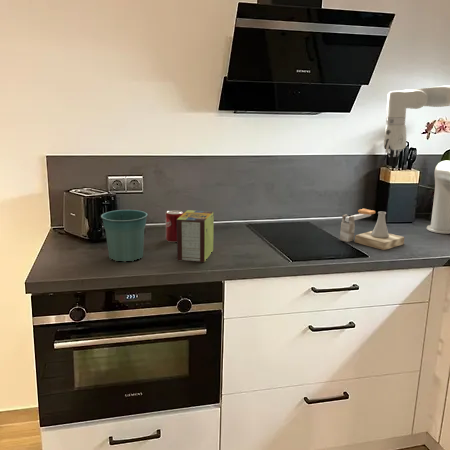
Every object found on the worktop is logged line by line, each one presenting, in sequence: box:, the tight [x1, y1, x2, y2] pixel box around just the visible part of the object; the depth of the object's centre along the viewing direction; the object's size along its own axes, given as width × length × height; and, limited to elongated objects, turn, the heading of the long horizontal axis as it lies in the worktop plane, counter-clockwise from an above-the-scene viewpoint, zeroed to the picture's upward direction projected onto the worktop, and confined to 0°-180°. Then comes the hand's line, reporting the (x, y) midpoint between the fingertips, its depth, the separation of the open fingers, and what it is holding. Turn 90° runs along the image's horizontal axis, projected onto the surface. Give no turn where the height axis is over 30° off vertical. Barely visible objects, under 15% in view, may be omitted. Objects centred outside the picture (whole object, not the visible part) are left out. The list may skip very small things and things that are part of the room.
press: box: [339, 214, 405, 251], centre depth 215 cm, size 16×20×10 cm
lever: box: [345, 208, 376, 222], centre depth 220 cm, size 15×6×3 cm, turn 130°
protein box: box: [176, 209, 215, 263], centre depth 193 cm, size 10×15×16 cm
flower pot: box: [100, 209, 148, 262], centre depth 189 cm, size 16×16×16 cm
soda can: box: [165, 209, 185, 243], centre depth 212 cm, size 7×7×12 cm
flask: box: [371, 211, 390, 238], centre depth 213 cm, size 7×7×10 cm
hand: (393, 165), depth 221 cm, fingers closed
